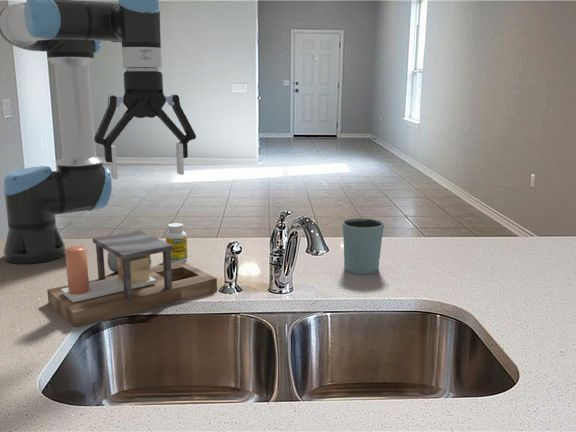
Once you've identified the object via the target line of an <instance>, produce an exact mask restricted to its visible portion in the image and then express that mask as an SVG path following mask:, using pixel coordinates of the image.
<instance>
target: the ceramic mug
mask: <svg viewBox="0 0 576 432" xmlns="http://www.w3.org/2000/svg"><path fill="white" fill-rule="evenodd" d="M145 256H147V257H149V267H150V266H152V261H153V260H152V259H151V255H145ZM107 266H108V267H109V270H110V271H111V272H113V273H118V264H117V256H116V255H114V254H112V253H110V252H109V251H107Z"/></svg>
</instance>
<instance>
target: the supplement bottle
mask: <svg viewBox="0 0 576 432" xmlns="http://www.w3.org/2000/svg"><path fill="white" fill-rule="evenodd" d="M184 228H185V227H184V223H180V222H174V223H173V222H172V223H169V224H168V225H167V230H168V232H167V233H166V234H165V242H166V243H168V244H171V245H173V250H171V251H170V256H171V263H175V262H180V261H183V262H186V261H187V260H188V238H187V233H186V232H185V231H184V230H185V229H184Z"/></svg>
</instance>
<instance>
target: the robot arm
mask: <svg viewBox="0 0 576 432" xmlns="http://www.w3.org/2000/svg"><path fill="white" fill-rule="evenodd" d="M0 35H1V37H2V39H4V40H5V41H6V42H7V43H8V44H10V45H12V46H14V47H16V48H19V49H21V50H26V51H32V52H46V58H47V61H48V62H50V63H51V64H52V65H53V66H54V74H55V85H56V88H55V89H56V97H57V107H58V117H59V128H60V140H61V141H60V142H61V152H62V158H61V159H60V160H59V161H58V163H57V170H54V171H53V170H52V169H51V167H50V166H47V165H39V166H31V167H26V168H21V169H17V170H15V171H11V172H9V173H7V175H5V177H4V179H3V195H4V200H5V209H6V219H7V226H8V232H7V234H6V238H5V239H6V240H5V244H4V247H3V257H4V260H5V261H6V262H8V263H11V264H37V263H44V262H48V261H52V260H57V259H59V258H61V257H63V256H65V249H66V245H65V242H64V240H63V238H62V235H61V234H60V231H59V229H58V227H57V223H56V221H57V220H56V216H58V215H62V214H63V215H65V214H72V213H78V212H86V211H88V212H92V211H93V210H94V211H95V210H99V209H103V208H105V207H107V205H108V203H109V202H110V199H111V196H112V189H113V183H112V179H113V180H118V178H119V176H118V163H117V147H116V146H115V145H113V143H115V141H116V139H117V138H118V137H119V136H120V135H121V133H122V132H123V131H124V129H125V128H126V127H127V126H128V124H129V123H130V122H131V120H133V118H137V119H143V118H150V119H153V118H154V119H155V118H156V117H158V119H160V120H161V122H162V123H163V124H164V125H165V126H166V127H167V128H168V130H170V132H171V133H172V134H173V135H174V136H175V137H176V138H177V140H178V141H179V142H175V151H176V152H175V153H176V154H175V155H176V157H175V158H176V159H175V160H176V174H178V175H180V176H181V175H183V176H184V175H185V164H184V159H187V158H188V156H189V153H188V152H189V151H188V143H189V142H190V141H193V140H196V138H197V135H196V133H195V131H194V128H193V127H192V125H191V123H190V122H189V119H188V117H187V115H186V114H185V112H184V110H183V108H182V106H181V101H180V96H179V95H178V94H171V95H167V96H165V94H164V85H163V84H164V81H163V80H164V79H163V73H162V71H160V69H162V68H163V65H162V62H163V61H162V42H161V41H162V40H161V7H160V0H118V2H109V1H108V2H105V1H90V0H26V1H25V2H22V3H13V4H10V5H7V6H6V7H4V8H3V9H2V10H0ZM102 41H104V42H106V41H107V42H112V43H120V44H121V52H122V55H121V56H122V67H123V68H124V69H125V71H123V72H124V73H123V87H124V93H123V96H117V95H109V96H108V97H107V107H106V110H105V113H104V114H103V117H102V119H101V121H100V124H99V126H98V128H97V131H96V133H95V128H94V115H93V114H94V113H93V104H92V103H93V101H92V89H91V78H90V77H91V76H90V64H91V63H92V62H94V60H95V54H96V53H98V52H99V51H100V50H101V43H102ZM121 103H122V104H123V105H124V106H125V107H126V108H127V110H125V112H124V113H123V115H122V117H121V118H120V119H119V121H117V123H116V124H115V126H114V127H113V128H112V129H111V131H110V132H109V133H108V135H107V136H106V137H105V135H106V133H107V131H108V129H109V126H110V125H111V121H112V120H113V117H114V116H115V115H114V114H115V113H116V110H117V108H119V107H120V106H121ZM166 103H167V104H168V106H170V107H171V108H172V110H173V112H174V114H175V115H176V118H177V120H178V121H179V124H180V125H181V127H182V129H183V131H184V132H183V131H181V129H180V128H179V127H178V126H177V125H176V123H175V122H174V121H173V120H172V119H171V118H170V117H169V116H168V114H167V113H166V112H165V111H164V109H163V107H164V106H165V104H166ZM184 133H185V134H184ZM96 144H98V145H101V146H103V148H104V160H105V162H106V163H110V170H109V168H108V167H106V166H103V160H102V159H101V158H99V157H98V156H97V152H96Z"/></svg>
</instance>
